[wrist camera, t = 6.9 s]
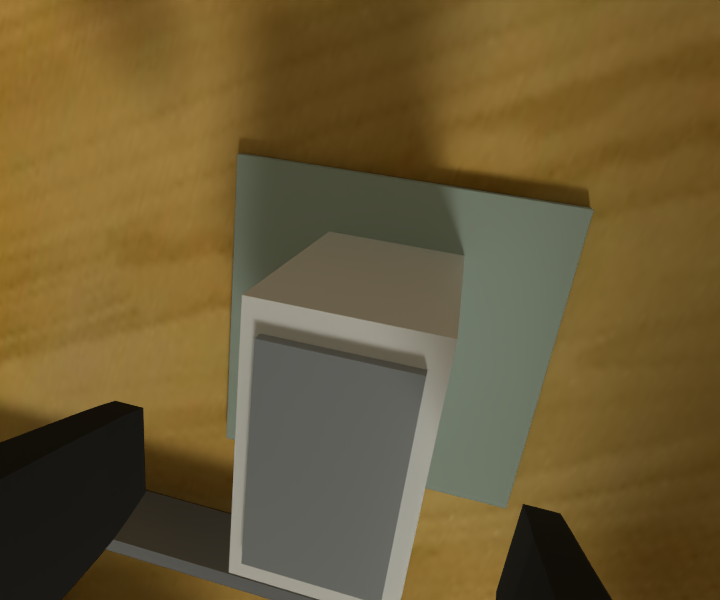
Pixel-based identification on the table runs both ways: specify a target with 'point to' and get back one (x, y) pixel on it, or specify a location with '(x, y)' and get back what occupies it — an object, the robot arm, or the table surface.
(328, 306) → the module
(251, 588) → the case
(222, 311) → the table surface
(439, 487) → the rubber mat
